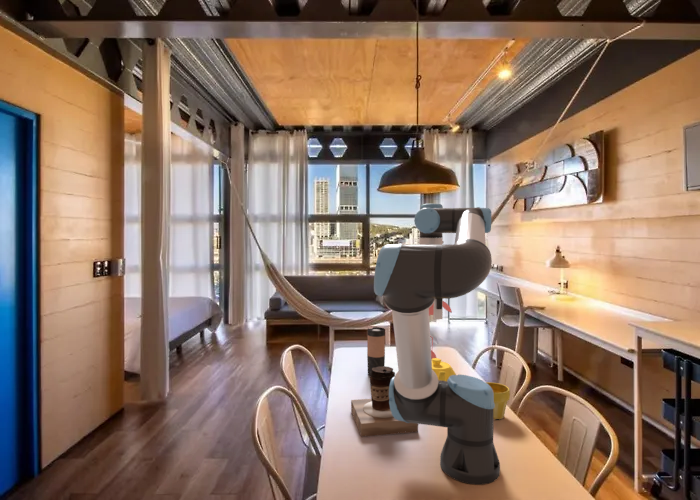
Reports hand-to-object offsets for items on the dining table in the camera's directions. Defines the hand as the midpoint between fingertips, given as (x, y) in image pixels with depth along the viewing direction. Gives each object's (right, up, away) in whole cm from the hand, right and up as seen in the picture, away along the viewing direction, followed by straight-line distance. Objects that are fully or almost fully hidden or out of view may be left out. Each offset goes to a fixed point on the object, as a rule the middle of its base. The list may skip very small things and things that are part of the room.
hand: (430, 314), depth 137 cm
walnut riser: (-16, -35, -1) cm, 38 cm away
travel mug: (-15, -33, +43) cm, 57 cm away
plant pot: (+22, -35, +3) cm, 41 cm away
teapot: (+7, -34, +21) cm, 40 cm away
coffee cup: (-16, -31, -1) cm, 35 cm away
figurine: (+8, -33, +55) cm, 64 cm away
